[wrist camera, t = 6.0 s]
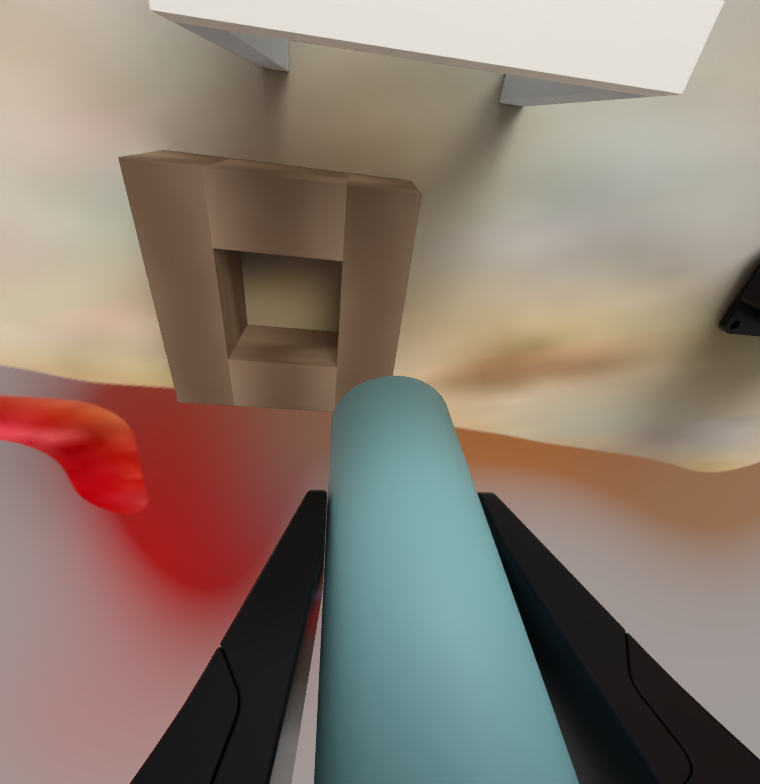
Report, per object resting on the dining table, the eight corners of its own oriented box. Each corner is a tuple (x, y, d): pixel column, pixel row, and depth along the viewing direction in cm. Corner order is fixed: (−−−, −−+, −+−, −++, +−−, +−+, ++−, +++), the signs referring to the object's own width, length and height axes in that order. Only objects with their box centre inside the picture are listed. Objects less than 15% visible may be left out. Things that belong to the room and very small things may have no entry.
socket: (410, 180, 16) (421, 194, 13) (382, 376, 22) (386, 415, 19) (163, 150, 15) (118, 157, 12) (202, 363, 21) (178, 402, 18)
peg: (460, 379, 10) (659, 827, 4) (436, 467, 12) (538, 862, 6) (333, 372, 10) (309, 863, 3) (329, 464, 12) (309, 888, 5)
